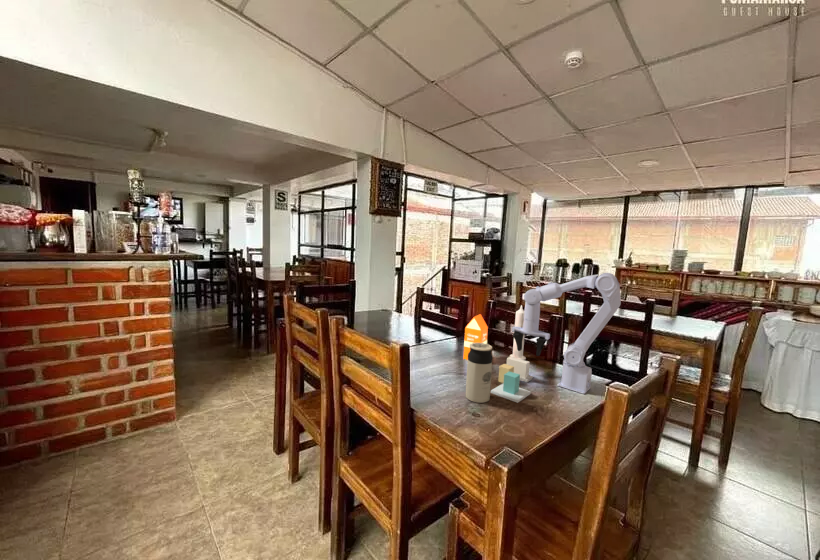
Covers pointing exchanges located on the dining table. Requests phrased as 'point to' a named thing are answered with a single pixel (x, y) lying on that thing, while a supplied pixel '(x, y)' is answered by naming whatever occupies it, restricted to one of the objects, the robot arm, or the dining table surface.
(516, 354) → the candle
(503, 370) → the ochre block
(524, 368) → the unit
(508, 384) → the teal block
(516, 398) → the mat
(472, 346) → the travel mug
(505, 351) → the dining table surface
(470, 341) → the orange juice
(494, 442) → the dining table surface
